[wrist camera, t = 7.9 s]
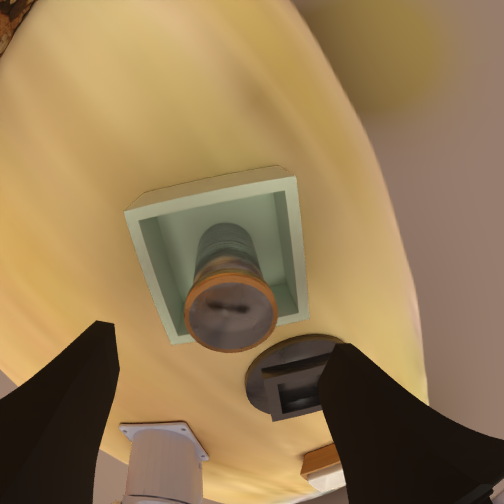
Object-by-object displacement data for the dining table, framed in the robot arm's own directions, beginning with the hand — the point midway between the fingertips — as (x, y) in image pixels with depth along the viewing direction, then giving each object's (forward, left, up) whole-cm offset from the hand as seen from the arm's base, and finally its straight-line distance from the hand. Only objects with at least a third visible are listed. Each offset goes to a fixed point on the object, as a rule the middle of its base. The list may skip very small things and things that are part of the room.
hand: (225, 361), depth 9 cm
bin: (0, 0, -10) cm, 10 cm away
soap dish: (-34, -10, -11) cm, 37 cm away
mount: (-14, -4, -10) cm, 18 cm away
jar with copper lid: (0, 0, -10) cm, 10 cm away
